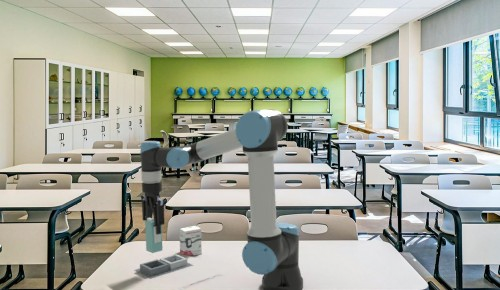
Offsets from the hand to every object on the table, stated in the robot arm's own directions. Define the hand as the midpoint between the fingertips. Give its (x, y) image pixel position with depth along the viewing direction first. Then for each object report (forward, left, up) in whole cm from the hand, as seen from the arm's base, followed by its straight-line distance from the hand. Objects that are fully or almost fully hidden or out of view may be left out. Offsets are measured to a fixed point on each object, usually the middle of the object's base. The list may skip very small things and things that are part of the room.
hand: (154, 240), depth 181 cm
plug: (0, 0, -4) cm, 4 cm away
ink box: (+8, -23, -14) cm, 28 cm away
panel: (0, -4, -13) cm, 14 cm away
